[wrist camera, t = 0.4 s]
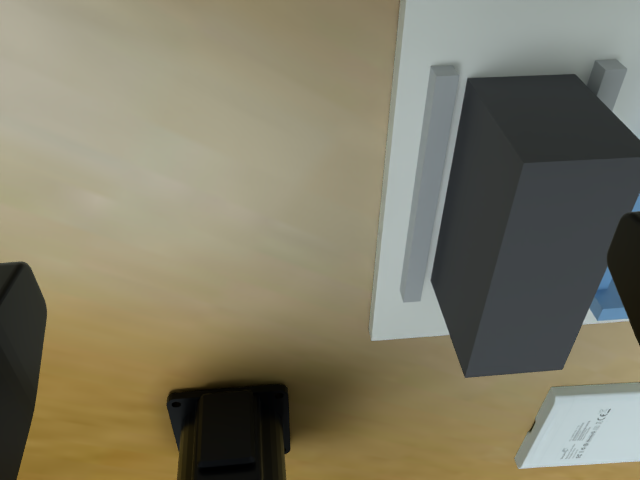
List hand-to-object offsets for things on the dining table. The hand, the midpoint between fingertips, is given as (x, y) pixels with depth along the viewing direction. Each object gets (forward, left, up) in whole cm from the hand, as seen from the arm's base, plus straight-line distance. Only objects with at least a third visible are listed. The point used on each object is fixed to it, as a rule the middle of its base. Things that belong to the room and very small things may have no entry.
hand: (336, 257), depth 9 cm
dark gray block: (-8, -8, -13) cm, 17 cm away
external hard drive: (-28, -21, -14) cm, 38 cm away
